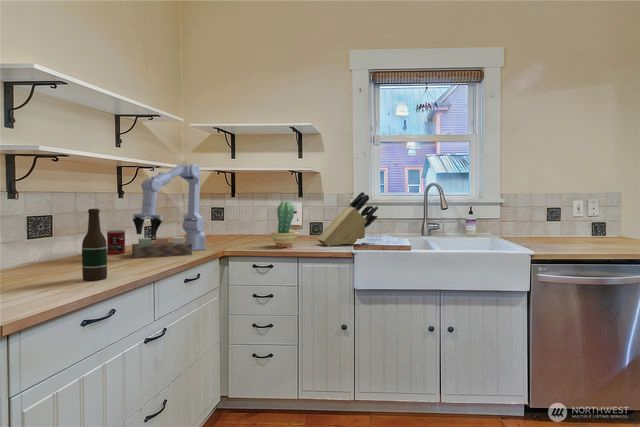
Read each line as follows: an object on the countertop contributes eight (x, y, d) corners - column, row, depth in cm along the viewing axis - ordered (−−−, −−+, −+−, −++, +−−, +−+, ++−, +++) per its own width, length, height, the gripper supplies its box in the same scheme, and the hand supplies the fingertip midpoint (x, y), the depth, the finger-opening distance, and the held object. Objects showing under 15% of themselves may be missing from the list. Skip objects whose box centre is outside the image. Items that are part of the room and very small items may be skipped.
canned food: (105, 254, 195) (105, 231, 195) (109, 252, 203) (109, 230, 202) (123, 254, 197) (123, 231, 197) (126, 251, 205) (126, 229, 204)
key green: (150, 246, 196) (150, 237, 196) (151, 247, 192) (151, 238, 192) (138, 246, 194) (138, 238, 194) (139, 248, 190) (139, 239, 189)
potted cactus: (302, 247, 226) (302, 201, 224) (276, 249, 219) (276, 201, 217) (291, 244, 239) (291, 201, 238) (266, 245, 232) (266, 201, 231)
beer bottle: (112, 276, 145) (110, 208, 144) (101, 281, 138) (99, 209, 136) (89, 276, 145) (88, 208, 144) (77, 281, 137) (75, 209, 136)
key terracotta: (166, 245, 200) (166, 237, 200) (168, 246, 196) (168, 238, 195) (155, 245, 198) (155, 237, 197) (157, 247, 193) (157, 238, 193)
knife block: (379, 244, 243) (380, 191, 242) (323, 246, 230) (324, 191, 229) (370, 242, 254) (370, 191, 252) (316, 244, 241) (316, 191, 239)
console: (186, 251, 208) (186, 241, 208) (191, 254, 197) (191, 243, 197) (132, 254, 197) (132, 243, 196) (134, 258, 185) (134, 246, 185)
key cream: (182, 244, 204) (182, 236, 203) (184, 245, 199) (184, 237, 199) (172, 245, 201) (172, 236, 201) (173, 246, 197) (173, 237, 197)
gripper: (129, 203, 186) (126, 233, 185) (157, 204, 183) (153, 235, 181) (140, 205, 193) (137, 234, 192) (166, 206, 189) (163, 236, 188)
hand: (145, 234), depth 187 cm, fingers open, 7 cm apart
